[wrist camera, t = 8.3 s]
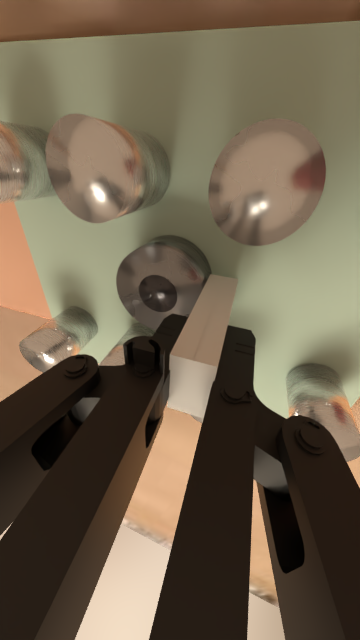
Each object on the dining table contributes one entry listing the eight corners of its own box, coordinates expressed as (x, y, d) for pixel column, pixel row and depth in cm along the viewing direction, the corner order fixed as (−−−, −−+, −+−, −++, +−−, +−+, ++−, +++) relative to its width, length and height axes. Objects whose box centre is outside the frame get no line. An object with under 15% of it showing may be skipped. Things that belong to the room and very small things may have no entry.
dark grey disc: (135, 300, 16) (117, 319, 14) (135, 226, 13) (113, 237, 11) (203, 319, 15) (194, 342, 13) (220, 245, 12) (212, 260, 10)
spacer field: (68, 349, 23) (63, 353, 22) (-26, 49, 11) (-38, 44, 11) (329, 424, 18) (331, 431, 17) (654, 13, 6) (687, 0, 6)
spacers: (69, 333, 20) (28, 367, 17) (8, 125, 12) (-95, 109, 9) (327, 402, 16) (345, 469, 12) (510, 145, 8) (718, 128, 4)
